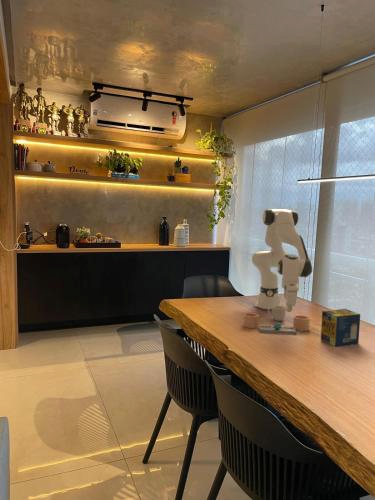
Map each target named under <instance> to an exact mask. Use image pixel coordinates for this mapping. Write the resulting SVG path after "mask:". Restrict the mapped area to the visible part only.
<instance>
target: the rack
mask: <svg viewBox="0 0 375 500" xmlns="http://www.w3.org/2000/svg"><path fill="white" fill-rule="evenodd" d="M258 329H259V333H263V334H278V335H279V334H282V335H283V334H284V335H297V330H295V328H294V327H293V326H292V327H291V326H281V328H280V329H278V330H277V329H275V328H274V325H259V327H258Z"/></svg>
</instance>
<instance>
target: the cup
mask: <svg viewBox="0 0 375 500" xmlns="http://www.w3.org/2000/svg"><path fill="white" fill-rule="evenodd" d="M285 307H286V306H283V305H281V306H273V307H272V308H269V309H267V314H268V315H269V316H271V317H272V319H273V321H276V322H282V321H284V320H285V317H286V312H287V311H286V310H285ZM270 311H271V313H270Z"/></svg>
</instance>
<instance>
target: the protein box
mask: <svg viewBox="0 0 375 500" xmlns="http://www.w3.org/2000/svg"><path fill="white" fill-rule="evenodd" d="M321 312H322V313H321V325H320V326H321V330H320V341H322V342H323V343H326V344H328V345H330V346H332V347H333V348H334V347H335V348H336V347H343V346H350V345H351V344H353V345H358V344H359V339H360V338H359V337H360V327H361V324H360V323H361V314H360V313H358V312H356V311H352V310H350V309H347V308H339V309H330V310H329V309H328V310H322V311H321ZM357 343H358V344H357Z"/></svg>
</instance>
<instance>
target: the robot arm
mask: <svg viewBox="0 0 375 500" xmlns="http://www.w3.org/2000/svg"><path fill="white" fill-rule="evenodd" d="M262 222H263V224H264V225H265V226H267V227H266V231H265V238H264V243H265V245H266V246H268V248H270V249H271V250H261V251H255V252H254V253H253V255H252V256H251V261H252V264H253V265H254V266H253V267H256V268H257V269H258V271H259V274H260V280H261V281H260V284H261V285H260V288H259V289H260V290H259V291H260V293H258V295H257V296H256V299H257V300H256V302H255V304H254V307H256V308H259V309H263V310H268V309H269V308H272V307H273V306H282V305H281V296H280V294H279V286H278V285H279V282H278V280H279V277H278V275H277V274H276V273H275V272H273V271H272V270H271V269H272V268H277V273H278V274H280V275H281V276H282V277H281V278H282V279H281V288H282V289H283V298H284V299H285V304H286V305H285V307H286V306H287V305H288V311H291V310H292V307H294V306H296V304H297V298H298V292H299V286H300V285H299V284H300V278H308V277H309V276H311V274H312V272H313V266H312V263H311V260H310V258H309V254H308V252H307V249H306V248H307V247H306V244H305V242H304V239H303V236H302V235H301V234H299V233H298V231H296V227H295V226H297V224H298V222H299V214H298V212H297V211H296V210H293V209H291V210H289V209H283V208H280V209H279V208H278V209H277V208H273V209H272V208H267V209H265V210H264V211H263V214H262ZM283 243H284V244H287V245H290V246H292V247H294V248H295V249H296V250H297V253H298V255H296V254H293V253H292V254H290V253H289V254H288V253H287V252H286V251H285V250H284V248H283ZM299 277H300V278H299ZM292 311H293V310H292ZM292 311H291V312H292Z"/></svg>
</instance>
